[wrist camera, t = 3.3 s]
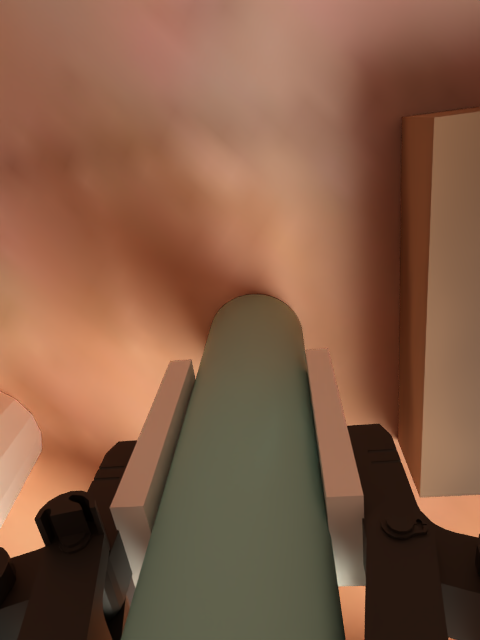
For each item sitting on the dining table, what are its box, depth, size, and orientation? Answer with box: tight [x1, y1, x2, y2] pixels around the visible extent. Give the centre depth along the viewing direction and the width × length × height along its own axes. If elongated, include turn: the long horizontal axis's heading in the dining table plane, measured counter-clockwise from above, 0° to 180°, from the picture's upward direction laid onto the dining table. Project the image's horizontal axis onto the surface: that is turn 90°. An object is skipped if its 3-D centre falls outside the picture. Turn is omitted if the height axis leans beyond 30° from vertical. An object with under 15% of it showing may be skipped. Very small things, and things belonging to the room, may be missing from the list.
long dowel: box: [121, 294, 345, 640], centre depth 13 cm, size 4×4×14 cm
